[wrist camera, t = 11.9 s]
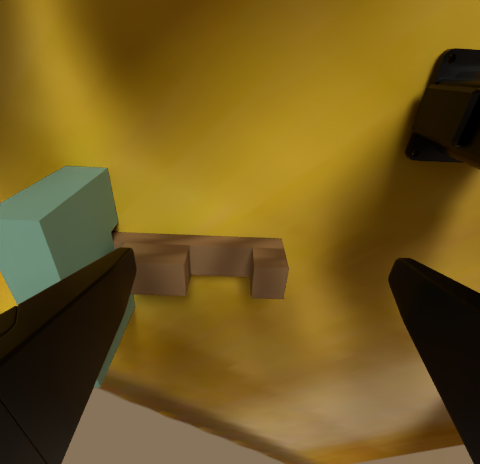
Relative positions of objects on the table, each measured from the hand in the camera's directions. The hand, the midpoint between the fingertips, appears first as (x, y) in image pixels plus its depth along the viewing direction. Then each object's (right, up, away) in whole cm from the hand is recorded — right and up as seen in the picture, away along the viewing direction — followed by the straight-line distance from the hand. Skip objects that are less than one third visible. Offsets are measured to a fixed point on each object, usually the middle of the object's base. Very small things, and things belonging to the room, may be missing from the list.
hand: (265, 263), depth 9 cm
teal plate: (-12, 0, +14) cm, 19 cm away
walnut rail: (-7, 0, +14) cm, 16 cm away
